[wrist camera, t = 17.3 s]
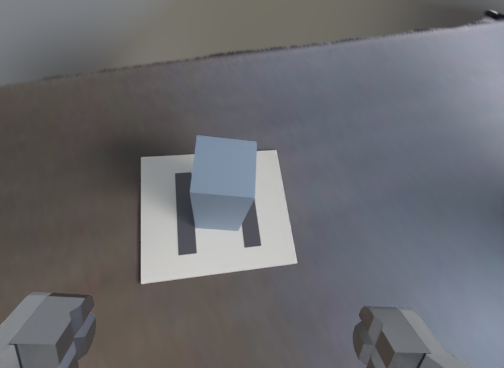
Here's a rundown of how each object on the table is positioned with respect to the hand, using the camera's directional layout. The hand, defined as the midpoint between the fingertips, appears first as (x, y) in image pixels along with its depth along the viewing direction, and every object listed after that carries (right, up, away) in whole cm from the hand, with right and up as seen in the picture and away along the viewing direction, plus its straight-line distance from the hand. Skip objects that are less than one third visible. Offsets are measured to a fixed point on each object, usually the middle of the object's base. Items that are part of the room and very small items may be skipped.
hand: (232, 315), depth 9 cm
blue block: (-3, +2, +19) cm, 19 cm away
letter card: (-3, +1, +19) cm, 19 cm away
